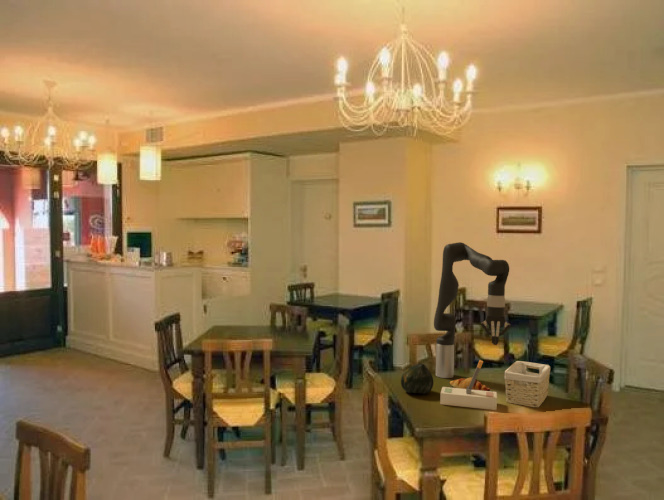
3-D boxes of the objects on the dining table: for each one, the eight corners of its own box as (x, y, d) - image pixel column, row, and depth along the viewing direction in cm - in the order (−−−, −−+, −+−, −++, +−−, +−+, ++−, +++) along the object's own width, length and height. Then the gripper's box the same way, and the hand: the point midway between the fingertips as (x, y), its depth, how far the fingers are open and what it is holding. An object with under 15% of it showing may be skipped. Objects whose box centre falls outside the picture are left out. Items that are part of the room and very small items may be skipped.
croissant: (447, 394, 269) (443, 381, 266) (455, 381, 275) (452, 368, 272) (487, 402, 255) (484, 389, 252) (495, 388, 262) (492, 375, 259)
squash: (395, 376, 267) (404, 358, 257) (423, 375, 271) (433, 358, 261) (402, 402, 257) (411, 384, 247) (431, 401, 261) (442, 384, 251)
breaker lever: (467, 388, 245) (479, 359, 243) (470, 390, 245) (483, 361, 243) (467, 390, 243) (479, 361, 241) (470, 392, 242) (482, 362, 240)
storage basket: (539, 410, 237) (540, 376, 237) (502, 403, 246) (503, 370, 245) (550, 395, 258) (551, 364, 257) (515, 389, 266) (516, 359, 265)
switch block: (443, 391, 262) (444, 376, 261) (496, 396, 255) (496, 381, 254) (440, 404, 243) (440, 388, 242) (496, 410, 236) (496, 394, 236)
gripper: (511, 305, 240) (510, 344, 241) (480, 303, 244) (479, 341, 245) (512, 307, 233) (511, 347, 234) (480, 305, 237) (479, 345, 238)
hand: (495, 344), depth 239 cm, fingers closed
